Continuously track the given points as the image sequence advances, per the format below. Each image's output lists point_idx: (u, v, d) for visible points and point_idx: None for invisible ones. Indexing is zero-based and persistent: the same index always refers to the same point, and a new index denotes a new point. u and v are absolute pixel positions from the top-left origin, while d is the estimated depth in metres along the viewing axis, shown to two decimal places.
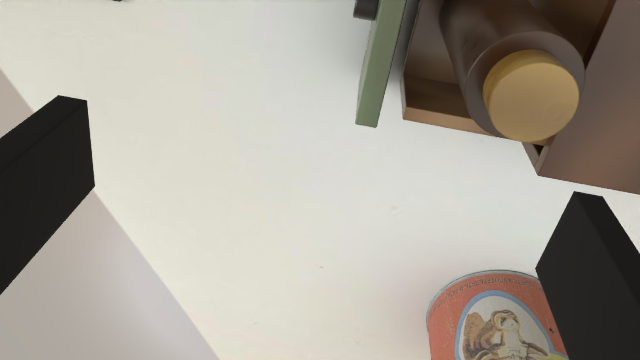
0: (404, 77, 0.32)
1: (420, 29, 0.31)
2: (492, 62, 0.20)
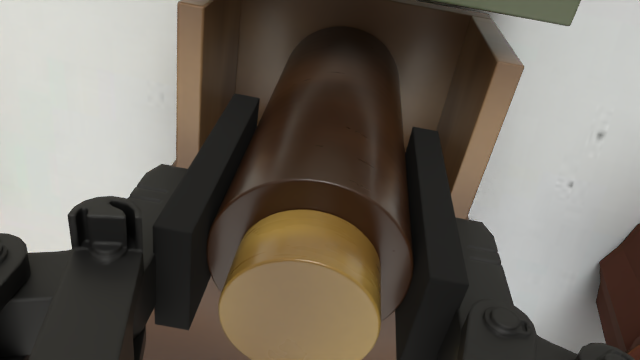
0: None
1: None
2: (356, 219, 0.11)
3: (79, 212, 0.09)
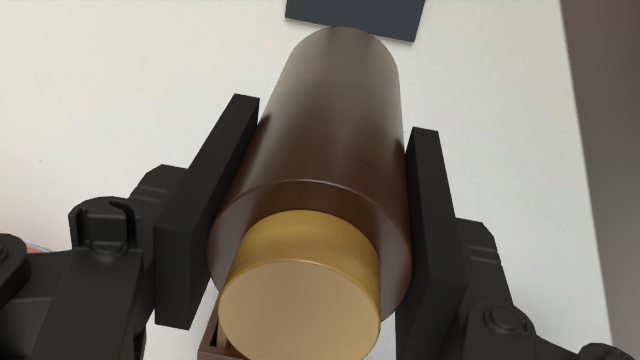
0: None
1: None
2: (356, 220, 0.11)
3: (79, 213, 0.09)
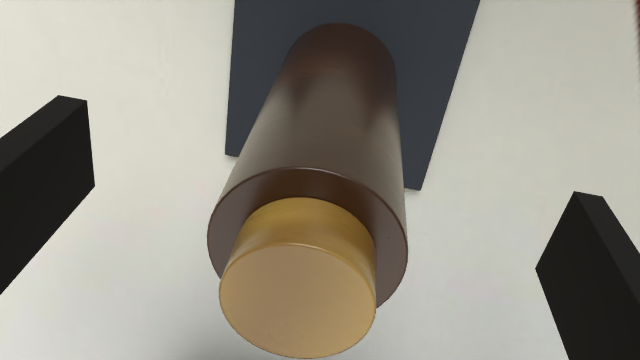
0: None
1: None
2: (352, 206, 0.11)
3: None
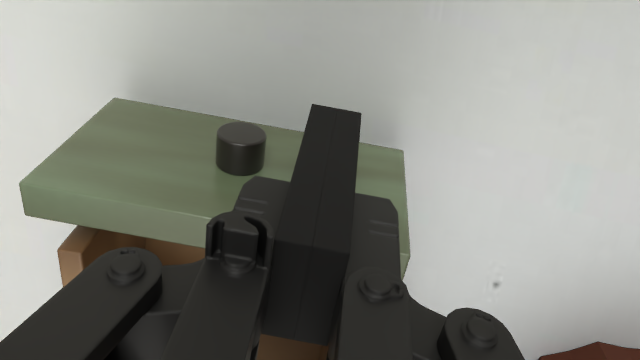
0: None
1: None
2: None
3: (216, 224, 0.09)
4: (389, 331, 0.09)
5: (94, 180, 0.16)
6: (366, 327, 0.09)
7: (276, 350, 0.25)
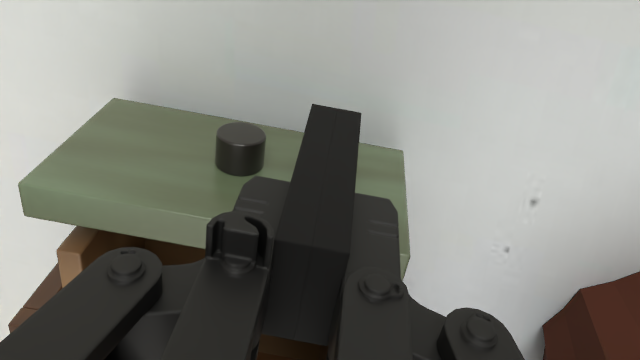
0: None
1: None
2: None
3: (217, 224, 0.09)
4: (389, 331, 0.09)
5: (93, 180, 0.15)
6: (366, 327, 0.09)
7: (276, 350, 0.25)
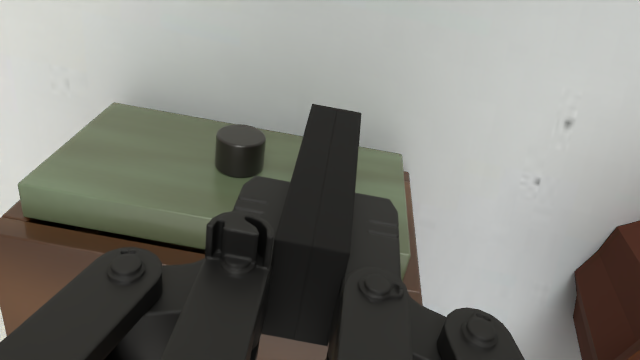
0: None
1: None
2: None
3: (216, 224, 0.09)
4: (389, 331, 0.09)
5: (93, 181, 0.15)
6: (366, 327, 0.09)
7: None
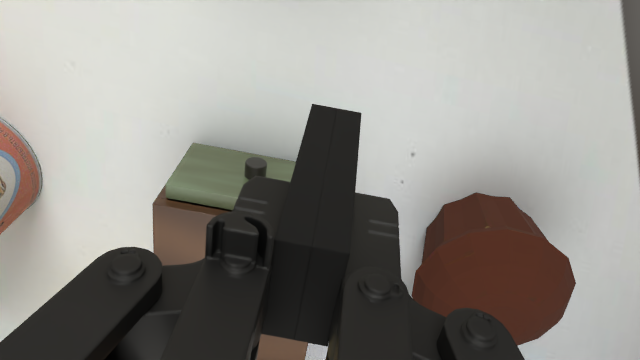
0: None
1: None
2: None
3: (216, 224, 0.09)
4: (389, 331, 0.09)
5: (194, 183, 0.37)
6: (366, 327, 0.09)
7: None
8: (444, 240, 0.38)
